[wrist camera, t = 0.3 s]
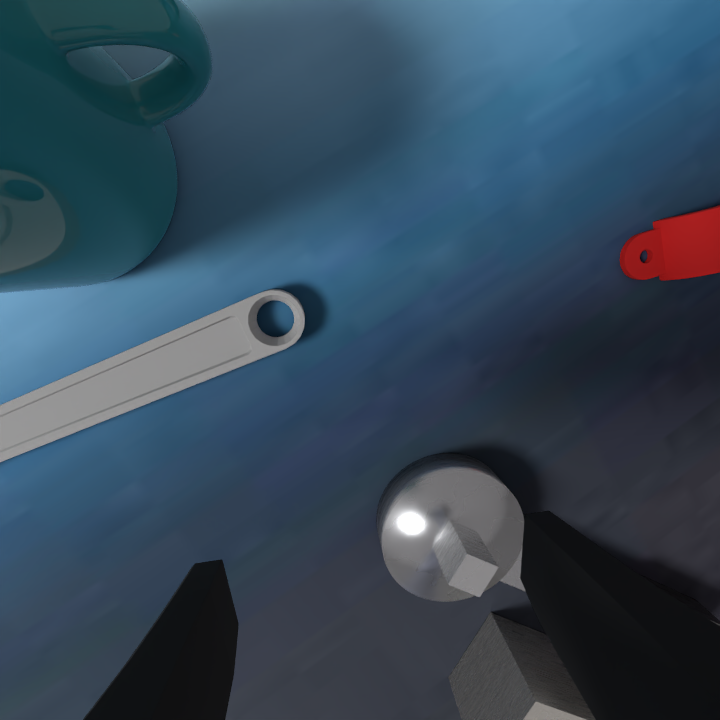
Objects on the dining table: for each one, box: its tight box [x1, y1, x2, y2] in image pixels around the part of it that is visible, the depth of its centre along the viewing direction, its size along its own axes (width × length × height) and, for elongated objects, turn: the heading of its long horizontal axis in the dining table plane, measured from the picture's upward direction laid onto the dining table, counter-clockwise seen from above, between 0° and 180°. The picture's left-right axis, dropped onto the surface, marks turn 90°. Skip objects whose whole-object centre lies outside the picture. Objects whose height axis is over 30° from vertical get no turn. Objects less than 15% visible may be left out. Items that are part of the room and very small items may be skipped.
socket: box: [449, 613, 596, 720], centre depth 22 cm, size 5×5×5 cm
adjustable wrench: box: [0, 289, 305, 462], centre depth 19 cm, size 25×6×2 cm, turn 107°
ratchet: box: [376, 453, 720, 626], centre depth 21 cm, size 7×20×4 cm, turn 62°
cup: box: [0, 0, 212, 293], centre depth 12 cm, size 9×12×11 cm
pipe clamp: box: [620, 205, 720, 280], centre depth 20 cm, size 8×3×2 cm, turn 107°
